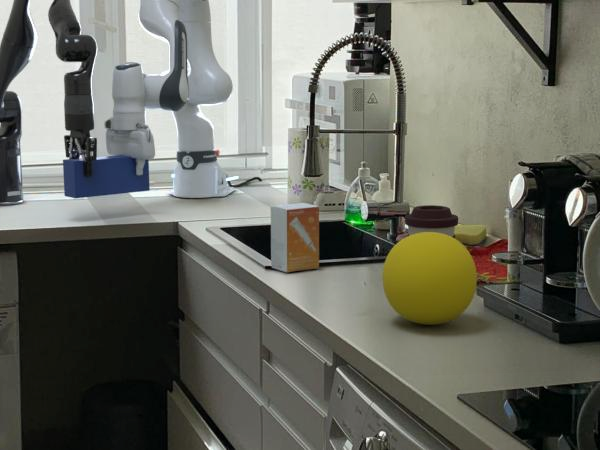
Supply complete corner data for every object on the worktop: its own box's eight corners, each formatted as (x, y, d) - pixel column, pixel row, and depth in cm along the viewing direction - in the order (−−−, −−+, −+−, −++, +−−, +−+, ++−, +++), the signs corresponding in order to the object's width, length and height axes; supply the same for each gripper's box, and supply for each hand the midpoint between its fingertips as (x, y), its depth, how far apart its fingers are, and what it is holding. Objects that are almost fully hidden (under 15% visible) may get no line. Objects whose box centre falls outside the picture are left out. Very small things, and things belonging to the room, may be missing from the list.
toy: (446, 307, 181) (447, 222, 179) (492, 329, 167) (494, 237, 165) (367, 316, 176) (367, 228, 174) (408, 339, 162) (408, 244, 160)
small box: (287, 273, 210) (286, 209, 208) (270, 268, 216) (269, 205, 213) (320, 268, 215) (319, 205, 213) (303, 263, 220) (302, 202, 218)
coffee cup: (400, 280, 202) (400, 204, 200) (450, 279, 203) (451, 203, 201) (409, 292, 193) (410, 212, 190) (462, 291, 193) (463, 211, 191)
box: (75, 198, 273) (73, 161, 271) (64, 196, 277) (62, 159, 276) (149, 190, 287) (148, 155, 285) (137, 188, 291) (136, 153, 290)
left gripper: (105, 112, 270) (107, 176, 273) (79, 110, 281) (81, 172, 284) (79, 113, 266) (82, 179, 269) (53, 111, 277) (56, 174, 280)
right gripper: (160, 124, 278) (161, 176, 280) (121, 120, 293) (122, 169, 296) (139, 125, 274) (141, 178, 276) (101, 122, 289) (103, 171, 292)
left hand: (81, 175), depth 276 cm, fingers closed on box, 6 cm apart
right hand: (131, 173), depth 286 cm, fingers closed on box, 6 cm apart
